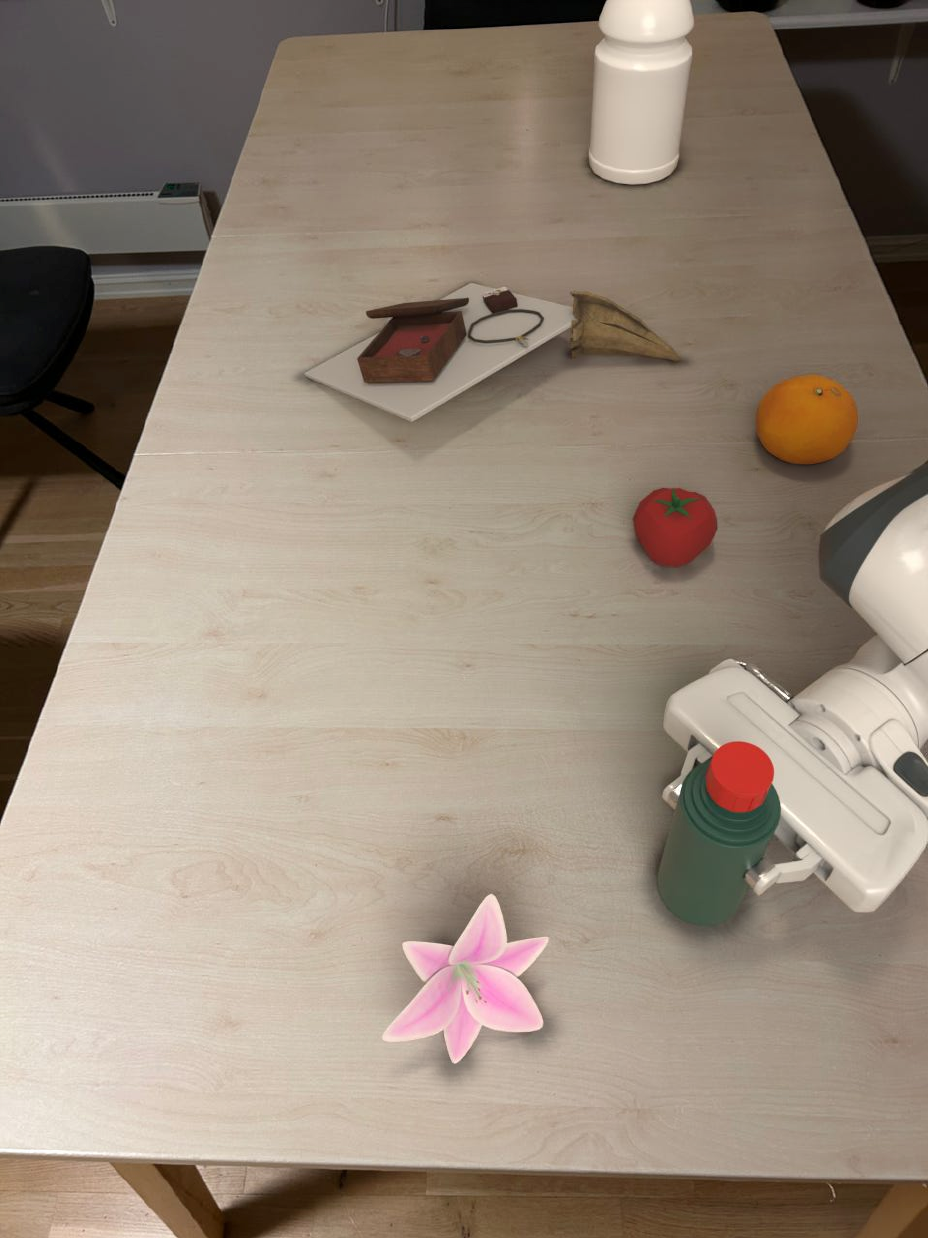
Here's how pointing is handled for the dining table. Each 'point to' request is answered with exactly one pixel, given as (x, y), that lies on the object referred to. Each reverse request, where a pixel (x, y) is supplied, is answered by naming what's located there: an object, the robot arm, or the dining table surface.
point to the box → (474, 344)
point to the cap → (739, 776)
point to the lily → (470, 985)
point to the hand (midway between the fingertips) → (709, 842)
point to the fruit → (806, 419)
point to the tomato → (674, 525)
